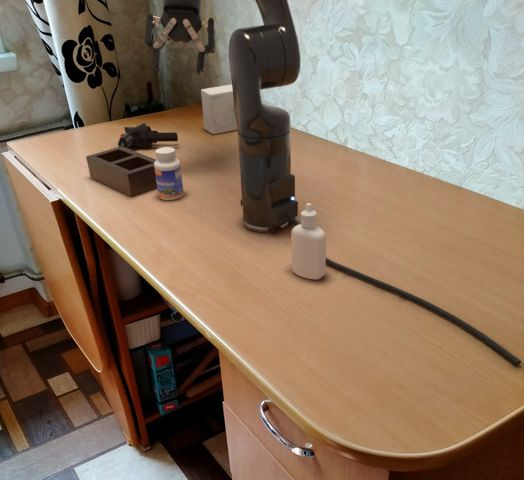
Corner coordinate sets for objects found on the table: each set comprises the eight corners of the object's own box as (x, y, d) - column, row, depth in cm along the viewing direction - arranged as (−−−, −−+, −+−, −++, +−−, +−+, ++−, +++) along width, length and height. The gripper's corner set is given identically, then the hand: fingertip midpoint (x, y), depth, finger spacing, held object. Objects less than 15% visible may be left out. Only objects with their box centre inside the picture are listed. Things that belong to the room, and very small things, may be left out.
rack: (167, 184, 128) (164, 162, 125) (131, 197, 123) (127, 174, 120) (125, 166, 138) (121, 145, 135) (90, 177, 133) (85, 156, 130)
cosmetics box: (213, 135, 155) (209, 94, 148) (203, 129, 159) (199, 89, 153) (247, 128, 159) (245, 87, 152) (237, 122, 163) (234, 83, 157)
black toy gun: (185, 118, 154) (131, 118, 156) (168, 132, 138) (108, 133, 139) (187, 138, 157) (134, 139, 159) (170, 155, 141) (111, 155, 142)
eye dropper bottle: (312, 263, 97) (313, 195, 90) (328, 278, 93) (330, 208, 86) (289, 268, 96) (288, 200, 88) (303, 284, 92) (304, 213, 84)
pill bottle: (154, 199, 121) (146, 153, 115) (165, 189, 125) (158, 145, 120) (177, 201, 120) (171, 155, 114) (188, 191, 124) (182, 146, 118)
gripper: (144, -25, 113) (140, 63, 116) (215, -20, 113) (210, 68, 116) (152, -8, 120) (148, 74, 123) (219, -3, 120) (214, 79, 123)
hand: (178, 71), depth 119 cm, fingers open, 8 cm apart
